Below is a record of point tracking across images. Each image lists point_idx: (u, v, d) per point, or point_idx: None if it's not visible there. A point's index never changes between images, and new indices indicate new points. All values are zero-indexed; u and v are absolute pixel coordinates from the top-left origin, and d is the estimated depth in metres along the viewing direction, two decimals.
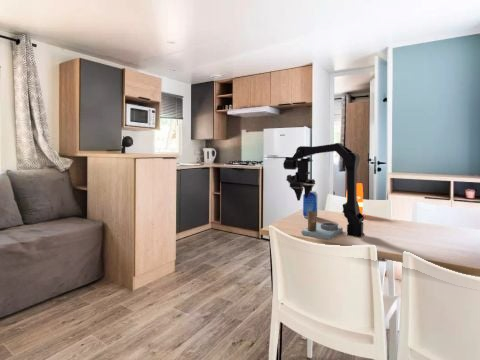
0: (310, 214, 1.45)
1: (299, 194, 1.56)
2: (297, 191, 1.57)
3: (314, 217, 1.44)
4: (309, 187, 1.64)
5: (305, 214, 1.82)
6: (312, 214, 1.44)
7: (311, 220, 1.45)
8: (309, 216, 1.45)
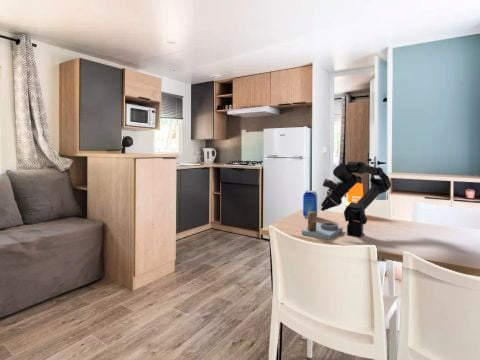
0: (310, 214, 1.45)
1: (328, 207, 1.39)
2: (329, 203, 1.38)
3: (314, 217, 1.44)
4: None
5: (305, 214, 1.82)
6: (312, 214, 1.44)
7: (311, 220, 1.45)
8: (309, 216, 1.45)
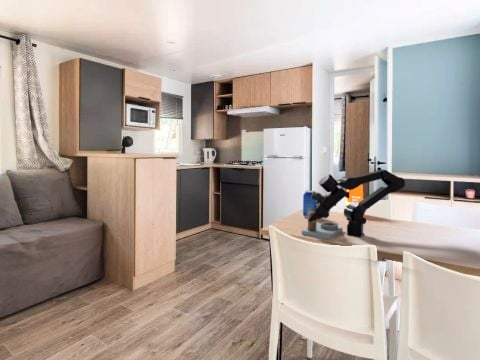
0: (310, 214, 1.45)
1: (316, 218, 1.43)
2: (316, 214, 1.42)
3: None
4: None
5: (305, 214, 1.82)
6: (312, 214, 1.44)
7: None
8: (309, 216, 1.45)
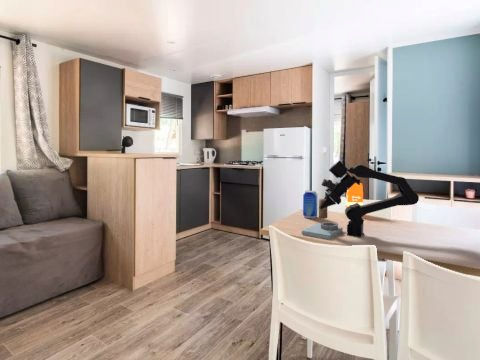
0: (321, 201, 1.46)
1: (327, 205, 1.44)
2: (328, 201, 1.44)
3: None
4: None
5: (305, 214, 1.82)
6: (323, 201, 1.46)
7: None
8: (320, 203, 1.47)
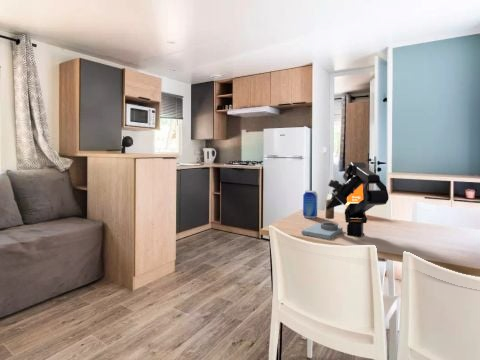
0: (328, 202, 1.48)
1: (333, 205, 1.46)
2: (334, 201, 1.46)
3: None
4: None
5: (305, 214, 1.82)
6: None
7: None
8: (327, 204, 1.49)
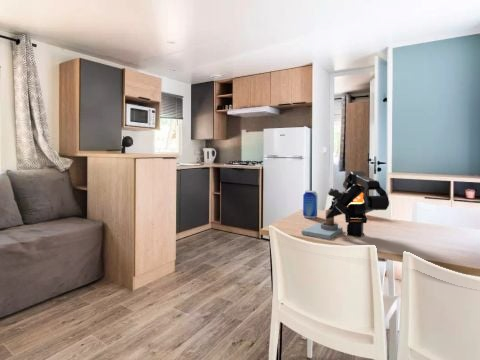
0: (328, 212, 1.48)
1: (334, 215, 1.45)
2: (334, 211, 1.45)
3: None
4: None
5: (305, 214, 1.82)
6: None
7: (329, 218, 1.49)
8: (327, 214, 1.49)
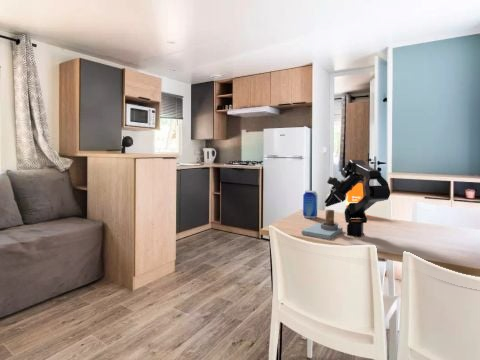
0: (328, 212, 1.49)
1: (332, 203, 1.45)
2: (333, 199, 1.45)
3: (332, 215, 1.48)
4: None
5: (305, 214, 1.82)
6: (330, 212, 1.48)
7: (329, 218, 1.49)
8: (327, 214, 1.49)
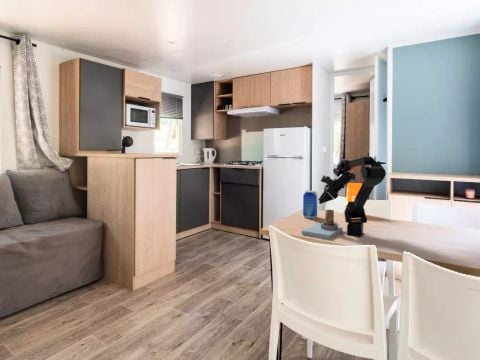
0: (328, 212, 1.49)
1: (326, 200, 1.53)
2: (326, 197, 1.53)
3: (332, 215, 1.48)
4: None
5: (305, 214, 1.82)
6: (330, 212, 1.48)
7: (329, 218, 1.49)
8: (327, 214, 1.49)
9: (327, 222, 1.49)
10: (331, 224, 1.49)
